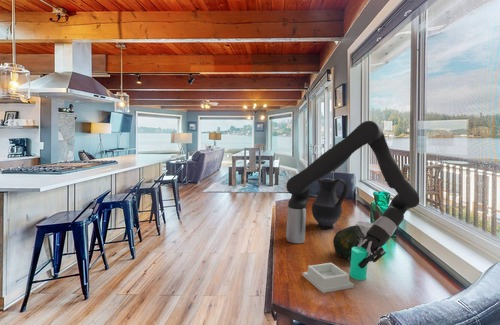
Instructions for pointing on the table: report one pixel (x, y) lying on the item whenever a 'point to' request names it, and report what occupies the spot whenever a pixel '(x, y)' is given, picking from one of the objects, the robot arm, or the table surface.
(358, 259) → the candle
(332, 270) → the candle stand
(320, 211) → the pitcher
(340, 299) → the table surface
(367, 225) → the mug
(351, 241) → the squash
